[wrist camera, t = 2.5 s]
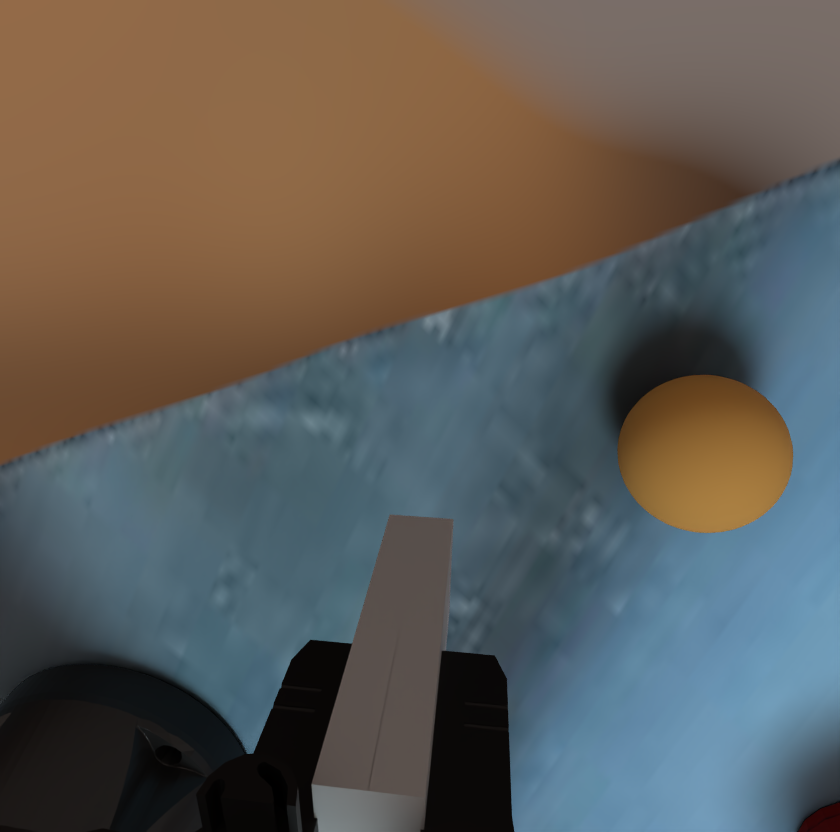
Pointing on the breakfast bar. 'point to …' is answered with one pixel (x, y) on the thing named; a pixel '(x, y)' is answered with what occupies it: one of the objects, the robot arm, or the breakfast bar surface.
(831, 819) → the plastic cup
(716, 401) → the ball
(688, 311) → the breakfast bar surface
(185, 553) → the breakfast bar surface
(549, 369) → the breakfast bar surface
